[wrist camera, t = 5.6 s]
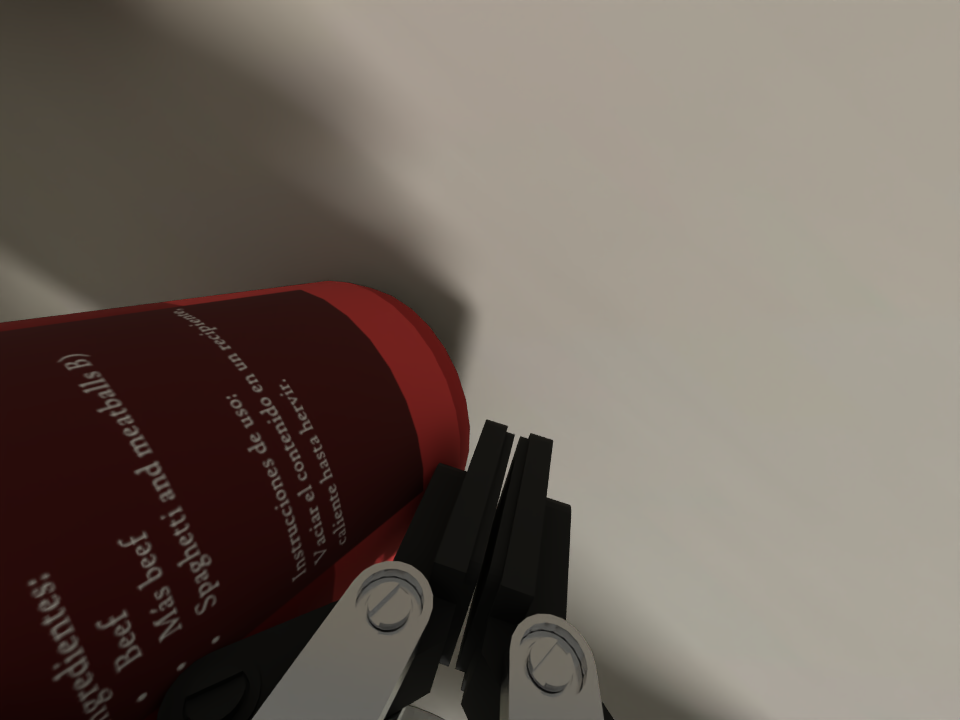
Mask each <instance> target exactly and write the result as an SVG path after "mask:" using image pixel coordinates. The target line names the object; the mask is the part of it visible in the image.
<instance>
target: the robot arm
mask: <svg viewBox="0 0 960 720" xmlns="http://www.w3.org/2000/svg"><path fill="white" fill-rule="evenodd" d="M507 428H508V426H506V425H503V424H500V423H496V422H493V421H490V420H486V422H485V425H484V427H483V430H482V433H481V435H480V438H479V441H478V444H477V446H476V449H475V452H474V454H473V457H472V460H471V463H470V465H469V468H468V471H464V470H461V469H458V468H455V467H452V466H448V465H445V464H442V463H439V464H438V465H437V467H436V469H435V471H434V473H433V476H432V478H431V480H430V482H429V484H428V486H427V489H426V491H425V493H424V495H423V497H422V499H421V501H420V504H419V506H418V508H417V510H416V512H415V514H414V516H413V519H412V521H411V523H410V525H409V527H408V529H407V531H406V534H405V536H404V538H403V540H402V542H401V544H400V546H399V549H398V551H397V553H396V555H395V557H394V559H393V561H385V562H381V563H377V564H374V565H372V566H370V567H369V568H367V569H365V570H363V571H362V572H361V573H360V574H359V575H358V577H357V578H356V579H355V580H354V581H353V582H352V584H351V585H350V586H349V588H348V589H347V590H346V592H345V593H344V594H343V596H342V597H341V599H339V600H337V601H335V602H332V603H330V604H327V605H325V606H322V607H320V608H317V609H315V610H313V611H310V612H308V613H305V614H303V615H300V616H298V617H296V618H293V619H291V620H288V621H286V622H283V623H281V624H279V625H276V626H274V627H271V628H269V629H266V630H264V631H262V632H259V633H257V634H254V635H252V636H249V637H247V638H245V639H242V640H240V641H237V642H235V643H232V644H230V645H228V646H225V647H223V648H220V649H218V650H215V651H213V652H211V653H209V654H207V655H206V656H204V657H202V658H200V659H198V660H197V661H195V662H194V663H193V664H192V665H190V666H189V667H188V668H187V669H186V670H185V671H183V672H182V673H181V674H180V675H179V676H178V678H177V679H176V680H175V682H174V683H173V684H172V686H171V687H170V688H169V689H168V691H167V692H166V695H165V697H164V699H163V701H162V703H161V706H160V708H159V710H158V714H157V720H400V719H401V717H402V715H403V713H404V711H405V708H406V706H408V705H409V704H411V703H413V702H414V701H416V700H418V699H419V698H421V697H423V696H425V695H426V694H428V693H430V690H431V687H432V684H433V680H434V677H435V674H436V671H437V668H438V665H439V663H441V664H443V665H446V666H449V664H450V661H451V658H452V655H453V652H454V649H455V646H456V643H457V640H458V637H459V634H460V631H461V628H462V625H463V622H464V619H465V616H466V613H467V610H468V607H469V604H470V601H471V598H472V595H473V593H474V596H473V600H472V604H471V608H470V612H469V616H468V620H467V624H466V628H465V632H464V635H463V639H462V643H461V647H460V651H459V655H458V659H457V663H456V668H455V669H457V670H460V671H462V672H465V674H464V678H463V683H462V687H461V690H462V691H464V693H463V698H462V702H461V705H462V707H463V709H464V712H465V714H466V716H467V718H468V720H614V719H613V717H612V716H611V714H610V713H609V711H608V710H607V708H606V707H605V705H604V704H603V703H602V701H601V695H600V689H599V682H598V675H597V668H596V664H595V660H594V657H593V653H592V651H591V649H590V647H589V645H588V644H587V642H586V640H585V638H584V637H583V636H582V635H581V634H580V633H579V631H578V630H577V629H576V628H575V627H574V626H572V625H571V624H570V623H568V622H567V621H566V609H567V588H568V568H569V548H570V527H571V506H570V505H568V504H565V503H562V502H559V501H556V500H553V499H550V498H547V497H546V496H547V488H548V479H549V471H550V463H551V454H552V446H553V440H551V439H548V438H545V437H541V436H538V435H535V434H532V433H531V434H530V436H529V438H528V439H527V438H524V437H521V436H520V439H519V441H518V445H517V448H516V451H515V454H514V457H513V460H512V463H511V466H510V469H509V472H508V475H507V478H506V481H505V484H504V487H503V490H502V493H501V496H500V492H501V488H502V484H503V480H504V476H505V472H506V468H507V464H508V460H509V456H510V452H511V448H512V444H513V440H514V436H515V435H514V434H511V433H508V432H506V431H507ZM499 496H500V499H499ZM498 499H499V502H498ZM497 503H498V505H497ZM496 507H497V508H496ZM476 583H477V584H476ZM475 587H476V588H475ZM474 590H475V592H474Z"/></svg>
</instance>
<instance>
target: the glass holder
mask: <svg viewBox="0 0 960 720" xmlns="http://www.w3.org/2000/svg"><path fill="white" fill-rule="evenodd" d="M400 720H444V719H442V718H440V717H437V716H435V715H433V714H431V713H429V712H426V711H423V710H421V709H418V708H415V707H412V706H406V708H405V711H404V713H403V715H402V717H401V719H400Z"/></svg>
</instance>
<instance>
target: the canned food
mask: <svg viewBox="0 0 960 720" xmlns="http://www.w3.org/2000/svg"><path fill="white" fill-rule="evenodd" d="M469 435H470V425H469V418H468V411H467V403H466V399H465V395H464V392H463V389H462V386H461V383H460V379H459V376H458V373H457V371H456V369H455V367H454V365H453V363H452V361H451V359H450V357H449V355H448V353H447V351H446V349H445V348H444V346H443V345H442V343H441V342H440V341H439V339H438V338H437V336H436V335H435V334H434V332H433V331H432V330H431V328H430V327H429V326H428V325H427V324H426V323H425V322H424V321H423V320H422V319H421V318H420V317H419V316H418V315H417V314H416V313H415V312H414V311H413V310H412V309H411V308H409V307H408V306H406V305H405V304H403V303H402V302H400V301H399V300H397V299H396V298H394V297H393V296H391V295H388V294H386V293H383V292H380V291H378V290H375V289H372V288H369V287H365V286H360V285H356V284H352V283H346V282H336V281H323V282H315V283H308V284H300V285H292V286H284V287H276V288H269V289H261V290H253V291H245V292H237V293H230V294H222V295H214V296H206V297H198V298H191V299H183V300H175V301H167V302H159V303H151V304H144V305H136V306H128V307H120V308H112V309H105V310H97V311H89V312H81V313H73V314H66V315H58V316H50V317H42V318H34V319H27V320H19V321H11V322H3V323H0V720H157V714H158V710H159V708H160V706H161V703H162V701H163V699H164V697H165V695H166V692H167V691H168V689H169V688H170V687H171V686H172V684H173V683H174V682H175V680H176V679H177V678H178V676H179V675H180V674H181V673H182V672H183V671H185V670H186V669H187V668H188V667H189V666H190V665H192V664H193V663H194V662H195V661H197V660H198V659H200V658H202V657H204V656H206V655H207V654H209V653H211V652H213V651H215V650H218V649H220V648H223V647H225V646H228V645H230V644H232V643H235V642H237V641H240V640H242V639H245V638H247V637H249V636H252V635H254V634H257V633H259V632H262V631H264V630H266V629H269V628H271V627H274V626H276V625H279V624H281V623H283V622H286V621H288V620H291V619H293V618H296V617H298V616H300V615H303V614H305V613H308V612H310V611H313V610H315V609H317V608H320V607H322V606H325V605H327V604H330V603H332V602H335V601H337V600H339V599H341V597H342V596H343V594H344V593H345V592H346V590H347V589H348V588H349V586H350V585H351V584H352V582H353V581H354V580H355V579H356V578H357V577H358V575H359V574H360V573H361V572H362V571H363V570H365V569H367V568H369V567H370V566H372V565H374V564H377V563H381V562H385V561H393V559H394V557H395V555H396V553H397V551H398V549H399V546H400V544H401V542H402V540H403V538H404V536H405V534H406V531H407V529H408V527H409V525H410V523H411V521H412V519H413V516H414V514H415V512H416V510H417V508H418V506H419V504H420V501H421V499H422V497H423V495H424V493H425V491H426V489H427V486H428V484H429V482H430V480H431V478H432V476H433V473H434V471H435V469H436V467H437V465H438V464H439V463H442V464H445V465H448V466H452V467H455V468H458V469H461V470H465V466H466V462H467V458H468V453H469Z"/></svg>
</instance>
